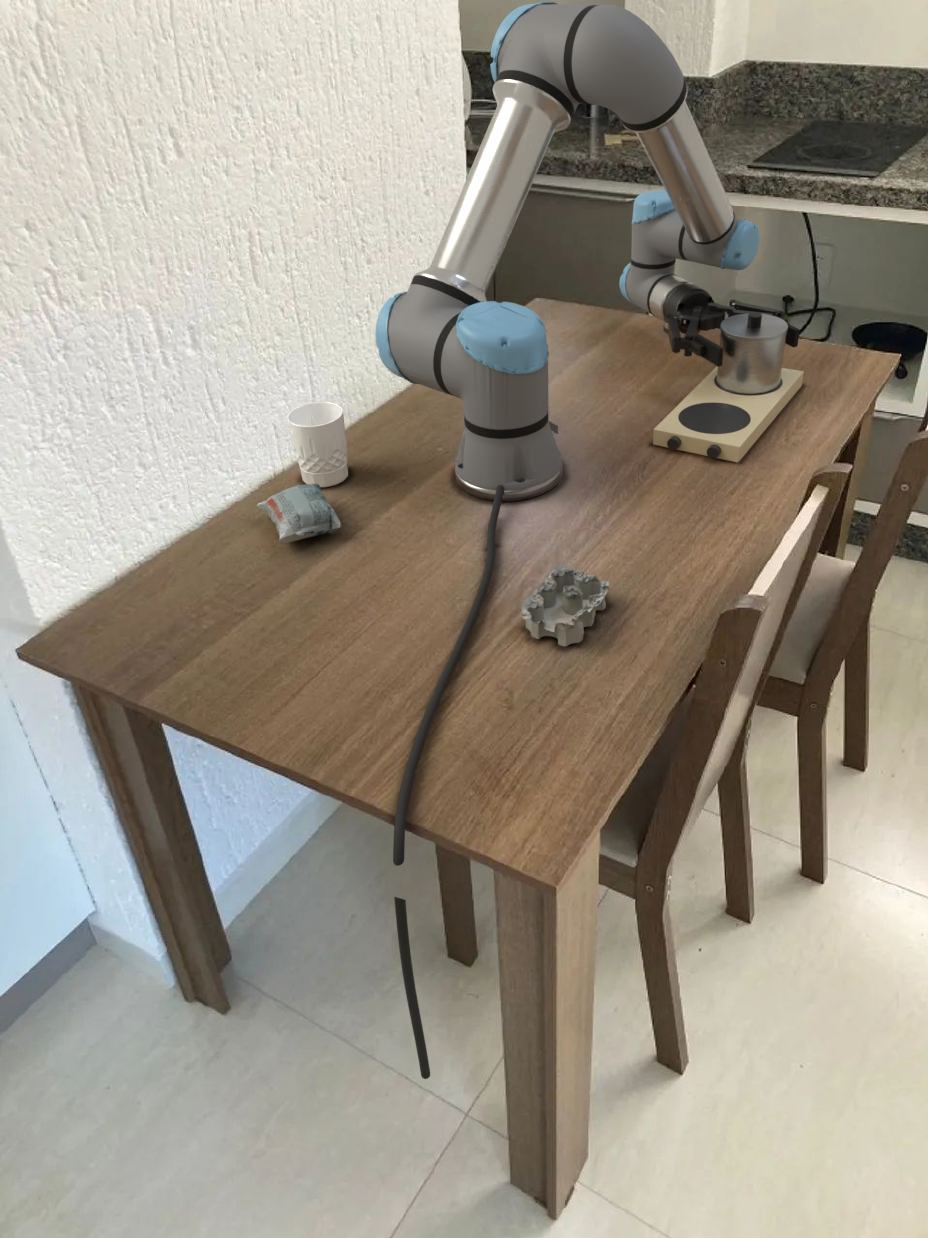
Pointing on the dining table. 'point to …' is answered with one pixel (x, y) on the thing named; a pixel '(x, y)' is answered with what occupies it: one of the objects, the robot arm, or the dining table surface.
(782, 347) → the pot
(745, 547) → the dining table surface
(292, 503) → the packaged food
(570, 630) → the egg carton
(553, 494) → the dining table surface
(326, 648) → the dining table surface
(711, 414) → the hot plate
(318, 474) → the white cup
